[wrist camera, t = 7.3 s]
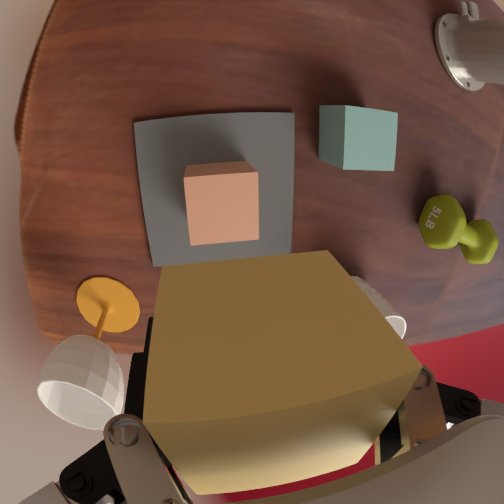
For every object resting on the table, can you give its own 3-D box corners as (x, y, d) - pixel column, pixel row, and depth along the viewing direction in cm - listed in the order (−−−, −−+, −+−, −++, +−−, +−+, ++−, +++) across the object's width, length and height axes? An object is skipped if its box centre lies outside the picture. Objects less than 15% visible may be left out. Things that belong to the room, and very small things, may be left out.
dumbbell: (407, 232, 37) (438, 256, 30) (428, 182, 33) (464, 199, 27) (460, 255, 41) (486, 275, 35) (478, 216, 38) (506, 233, 32)
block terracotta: (186, 165, 27) (183, 177, 22) (246, 160, 28) (258, 172, 23) (191, 221, 30) (190, 245, 24) (247, 216, 31) (258, 239, 25)
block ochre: (162, 266, 10) (142, 422, 4) (327, 249, 10) (423, 366, 5) (188, 376, 12) (196, 494, 7) (311, 359, 13) (357, 462, 8)
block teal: (319, 105, 27) (345, 105, 22) (366, 110, 28) (397, 113, 23) (318, 158, 30) (343, 169, 24) (364, 159, 31) (393, 171, 25)
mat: (135, 122, 25) (133, 122, 24) (292, 112, 27) (294, 112, 26) (154, 264, 32) (153, 266, 31) (289, 251, 34) (291, 253, 34)
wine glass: (79, 325, 34) (47, 418, 20) (74, 270, 30) (21, 366, 16) (139, 336, 36) (126, 437, 22) (141, 282, 33) (117, 391, 19)
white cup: (315, 318, 40) (342, 369, 31) (328, 272, 37) (363, 319, 28) (361, 314, 42) (392, 358, 33) (376, 270, 38) (415, 312, 29)
